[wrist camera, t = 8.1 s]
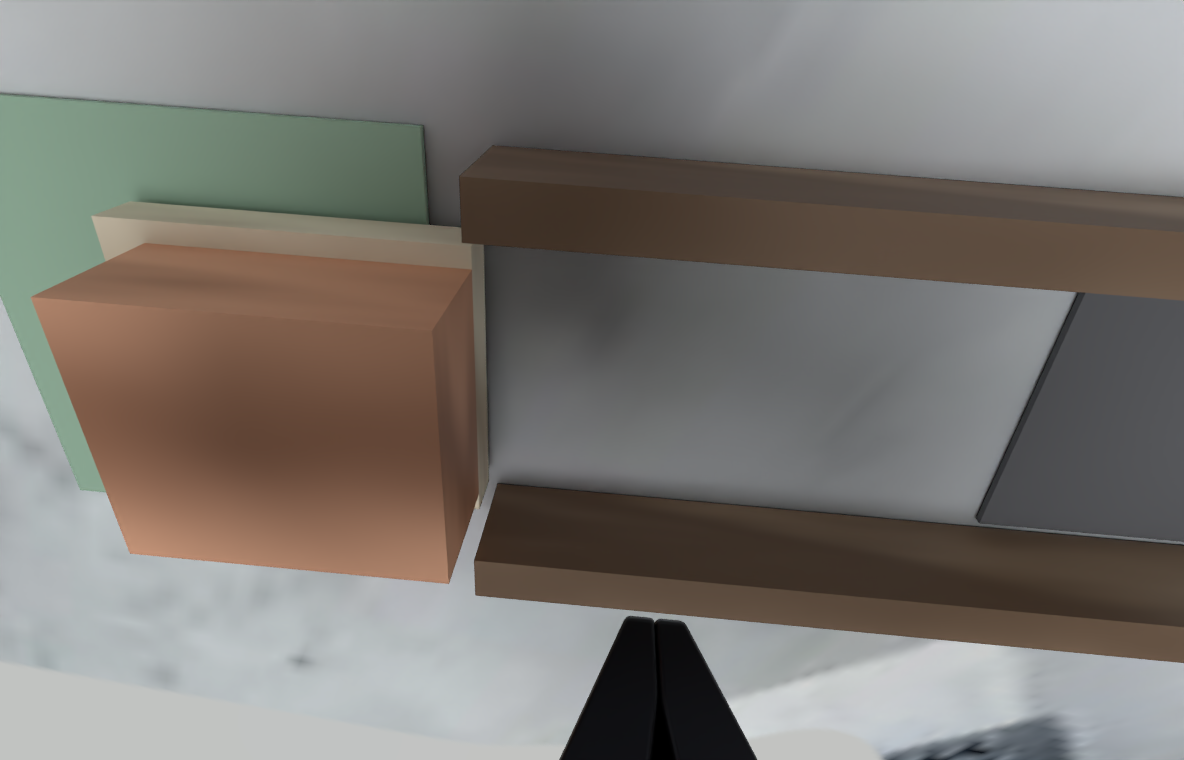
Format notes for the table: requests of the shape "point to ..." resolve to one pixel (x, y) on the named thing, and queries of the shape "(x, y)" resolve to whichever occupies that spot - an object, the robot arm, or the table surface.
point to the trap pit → (1102, 427)
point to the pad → (171, 194)
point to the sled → (280, 386)
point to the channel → (809, 539)
